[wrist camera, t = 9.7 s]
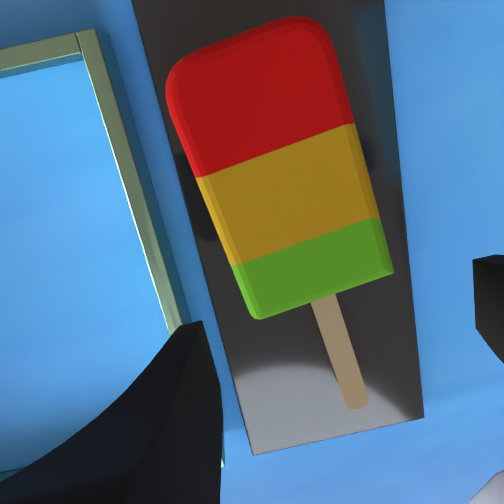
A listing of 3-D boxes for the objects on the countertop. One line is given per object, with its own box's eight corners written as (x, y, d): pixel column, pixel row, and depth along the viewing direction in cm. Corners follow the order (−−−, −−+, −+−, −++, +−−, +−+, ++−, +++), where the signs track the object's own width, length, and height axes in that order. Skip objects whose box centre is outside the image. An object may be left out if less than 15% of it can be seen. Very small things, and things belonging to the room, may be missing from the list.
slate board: (417, 406, 22) (424, 418, 21) (251, 443, 22) (252, 456, 21) (370, -57, 15) (378, -64, 15) (133, -3, 15) (129, -8, 15)
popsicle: (313, 7, 15) (326, -3, 13) (413, 372, 20) (432, 400, 19) (155, 68, 15) (147, 66, 14) (293, 412, 21) (300, 444, 19)
